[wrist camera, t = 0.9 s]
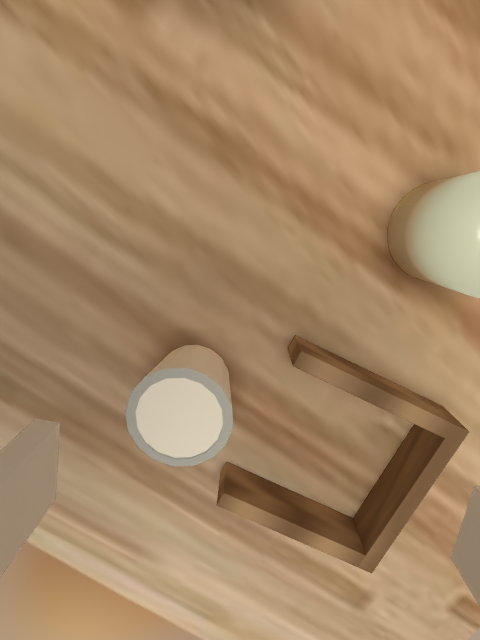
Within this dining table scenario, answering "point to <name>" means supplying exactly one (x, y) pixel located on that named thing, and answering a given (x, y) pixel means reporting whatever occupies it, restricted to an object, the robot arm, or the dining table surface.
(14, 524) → the robot arm
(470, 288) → the cream rounded cylinder
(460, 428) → the bay
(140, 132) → the dining table surface
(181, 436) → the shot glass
